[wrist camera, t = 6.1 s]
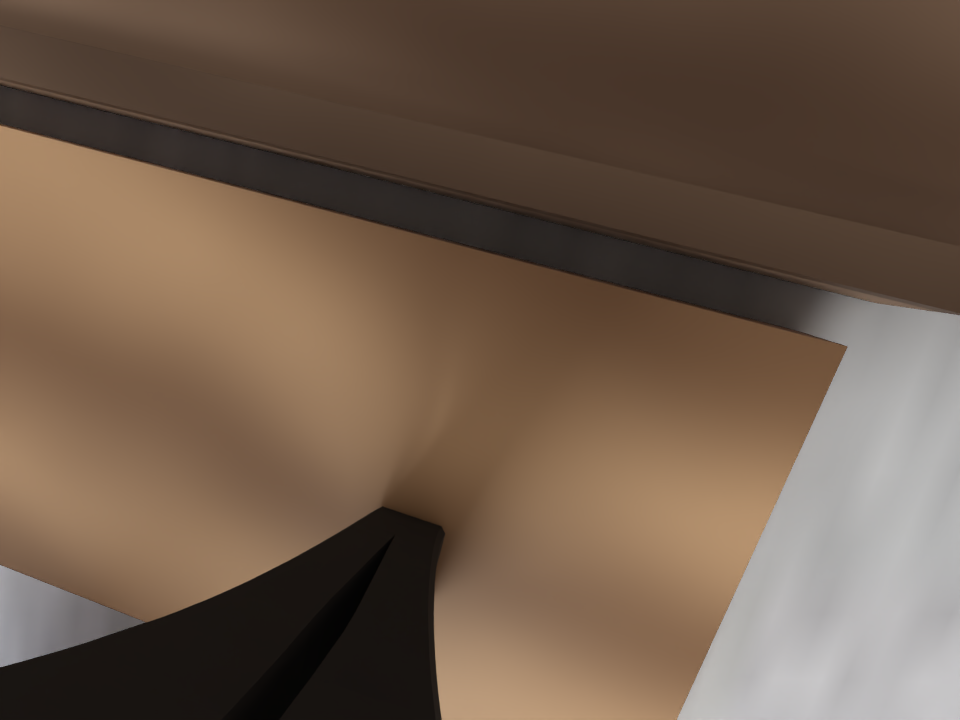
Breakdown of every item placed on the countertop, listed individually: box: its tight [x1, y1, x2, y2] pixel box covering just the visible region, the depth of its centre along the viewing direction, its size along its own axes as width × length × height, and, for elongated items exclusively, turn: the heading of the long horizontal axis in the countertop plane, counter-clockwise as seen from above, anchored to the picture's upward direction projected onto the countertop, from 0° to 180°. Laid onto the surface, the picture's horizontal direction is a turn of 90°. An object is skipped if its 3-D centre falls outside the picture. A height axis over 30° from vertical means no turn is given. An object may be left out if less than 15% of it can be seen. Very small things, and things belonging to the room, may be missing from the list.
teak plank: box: [0, 124, 847, 720], centre depth 11 cm, size 10×26×2 cm, turn 76°
